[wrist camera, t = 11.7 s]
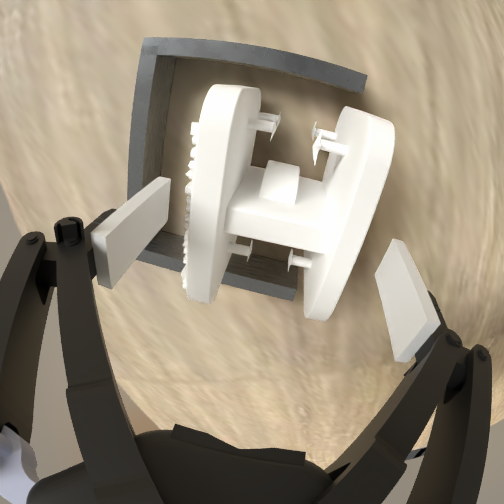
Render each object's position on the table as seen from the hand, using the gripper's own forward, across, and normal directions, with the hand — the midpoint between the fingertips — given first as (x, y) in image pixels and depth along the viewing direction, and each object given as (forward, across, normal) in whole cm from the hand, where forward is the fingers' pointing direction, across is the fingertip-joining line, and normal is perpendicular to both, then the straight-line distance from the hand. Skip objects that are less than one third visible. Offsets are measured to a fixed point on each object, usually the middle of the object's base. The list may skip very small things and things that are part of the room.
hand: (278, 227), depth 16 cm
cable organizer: (+11, 0, 0) cm, 11 cm away
